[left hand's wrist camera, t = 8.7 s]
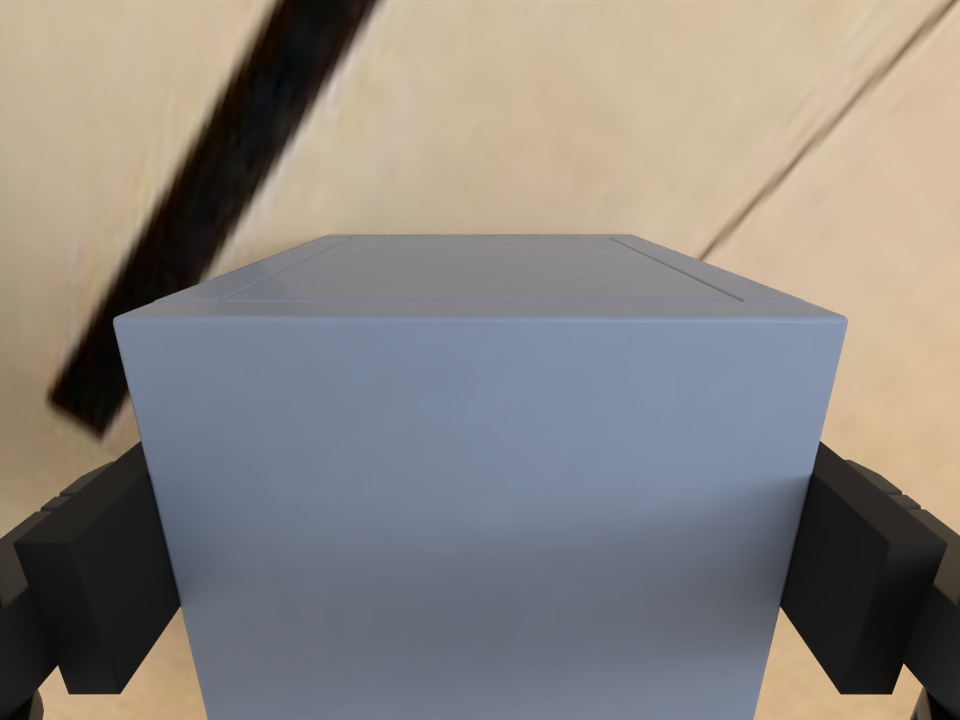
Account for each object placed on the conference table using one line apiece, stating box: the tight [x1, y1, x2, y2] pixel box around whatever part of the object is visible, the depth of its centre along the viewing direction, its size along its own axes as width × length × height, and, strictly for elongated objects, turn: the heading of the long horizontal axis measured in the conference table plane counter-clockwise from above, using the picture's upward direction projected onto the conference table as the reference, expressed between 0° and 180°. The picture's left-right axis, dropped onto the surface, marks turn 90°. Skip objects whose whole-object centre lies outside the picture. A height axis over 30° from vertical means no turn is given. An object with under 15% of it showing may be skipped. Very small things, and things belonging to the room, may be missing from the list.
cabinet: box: [113, 235, 848, 720], centre depth 16 cm, size 17×11×11 cm, turn 0°
